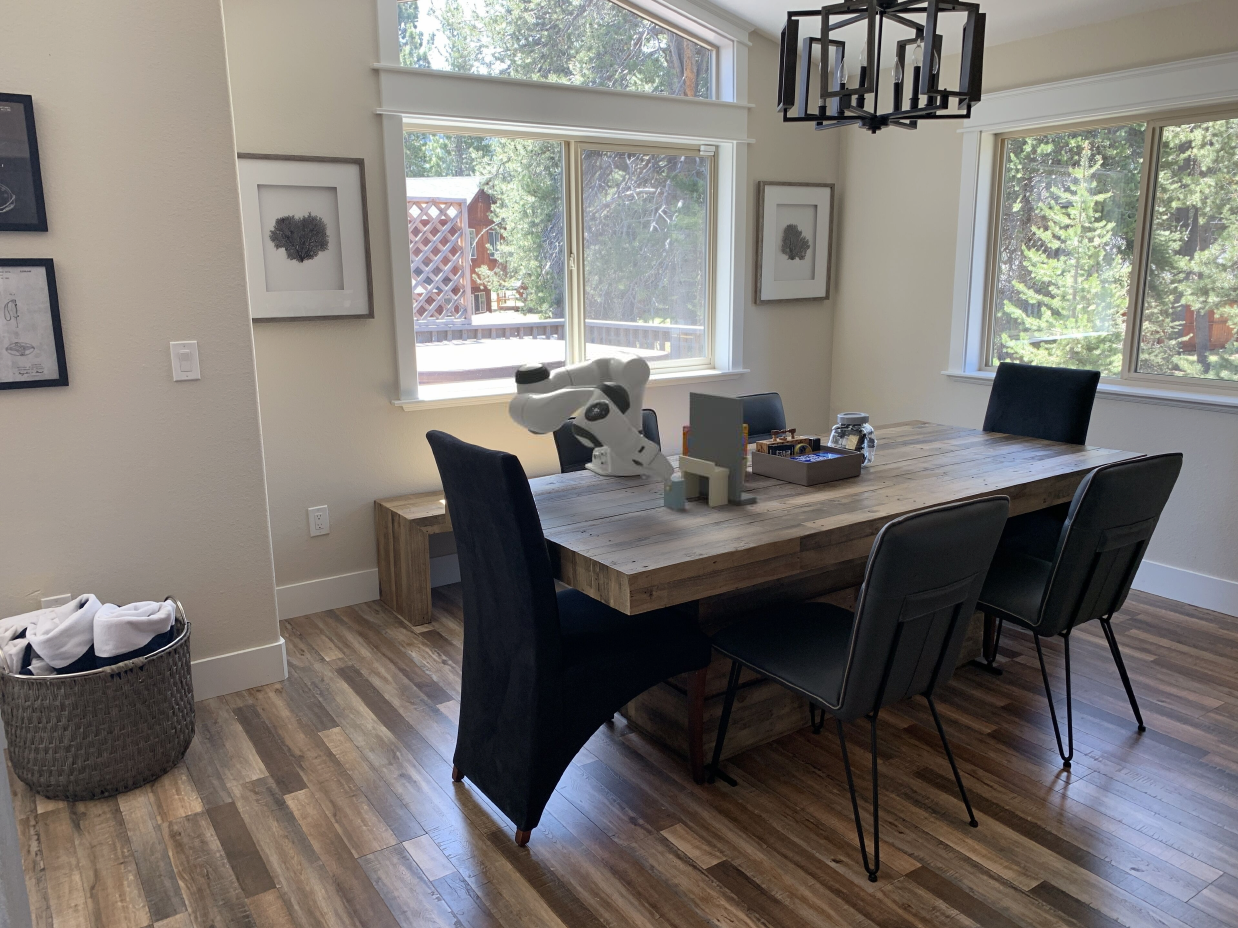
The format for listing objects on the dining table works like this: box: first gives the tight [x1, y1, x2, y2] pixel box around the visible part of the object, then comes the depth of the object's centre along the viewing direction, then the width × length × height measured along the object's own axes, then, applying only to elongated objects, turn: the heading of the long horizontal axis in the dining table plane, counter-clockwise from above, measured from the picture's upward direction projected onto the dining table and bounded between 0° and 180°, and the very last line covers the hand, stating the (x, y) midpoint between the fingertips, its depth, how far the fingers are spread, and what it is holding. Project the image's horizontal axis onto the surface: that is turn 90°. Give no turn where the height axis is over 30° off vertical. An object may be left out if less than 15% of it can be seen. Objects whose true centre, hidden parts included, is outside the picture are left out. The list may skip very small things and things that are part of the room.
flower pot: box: [742, 456, 750, 487], centre depth 276 cm, size 9×9×9 cm
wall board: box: [678, 391, 758, 508], centre depth 258 cm, size 20×14×30 cm
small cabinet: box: [663, 476, 686, 511], centre depth 251 cm, size 5×4×8 cm
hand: (658, 480), depth 246 cm, fingers open, 8 cm apart
